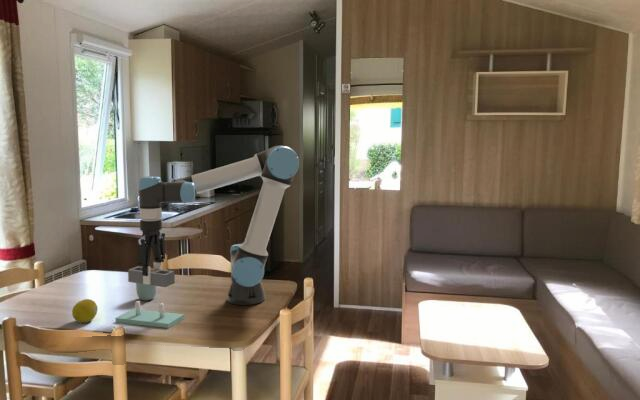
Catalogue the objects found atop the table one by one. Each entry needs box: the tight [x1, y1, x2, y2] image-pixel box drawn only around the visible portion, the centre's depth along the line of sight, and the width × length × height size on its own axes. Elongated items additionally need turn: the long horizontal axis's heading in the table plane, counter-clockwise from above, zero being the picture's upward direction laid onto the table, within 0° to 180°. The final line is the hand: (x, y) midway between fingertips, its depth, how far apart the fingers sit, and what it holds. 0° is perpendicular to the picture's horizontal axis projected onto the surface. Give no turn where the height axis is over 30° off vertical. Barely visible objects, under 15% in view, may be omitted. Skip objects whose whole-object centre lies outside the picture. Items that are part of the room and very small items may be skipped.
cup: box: [135, 283, 158, 301], centre depth 212 cm, size 8×8×10 cm
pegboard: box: [115, 300, 185, 329], centre depth 188 cm, size 22×10×6 cm, turn 73°
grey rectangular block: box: [127, 265, 176, 288], centre depth 190 cm, size 16×6×5 cm, turn 71°
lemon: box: [71, 298, 98, 324], centre depth 188 cm, size 11×8×8 cm
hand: (152, 281), depth 190 cm, fingers closed on grey rectangular block, 5 cm apart
